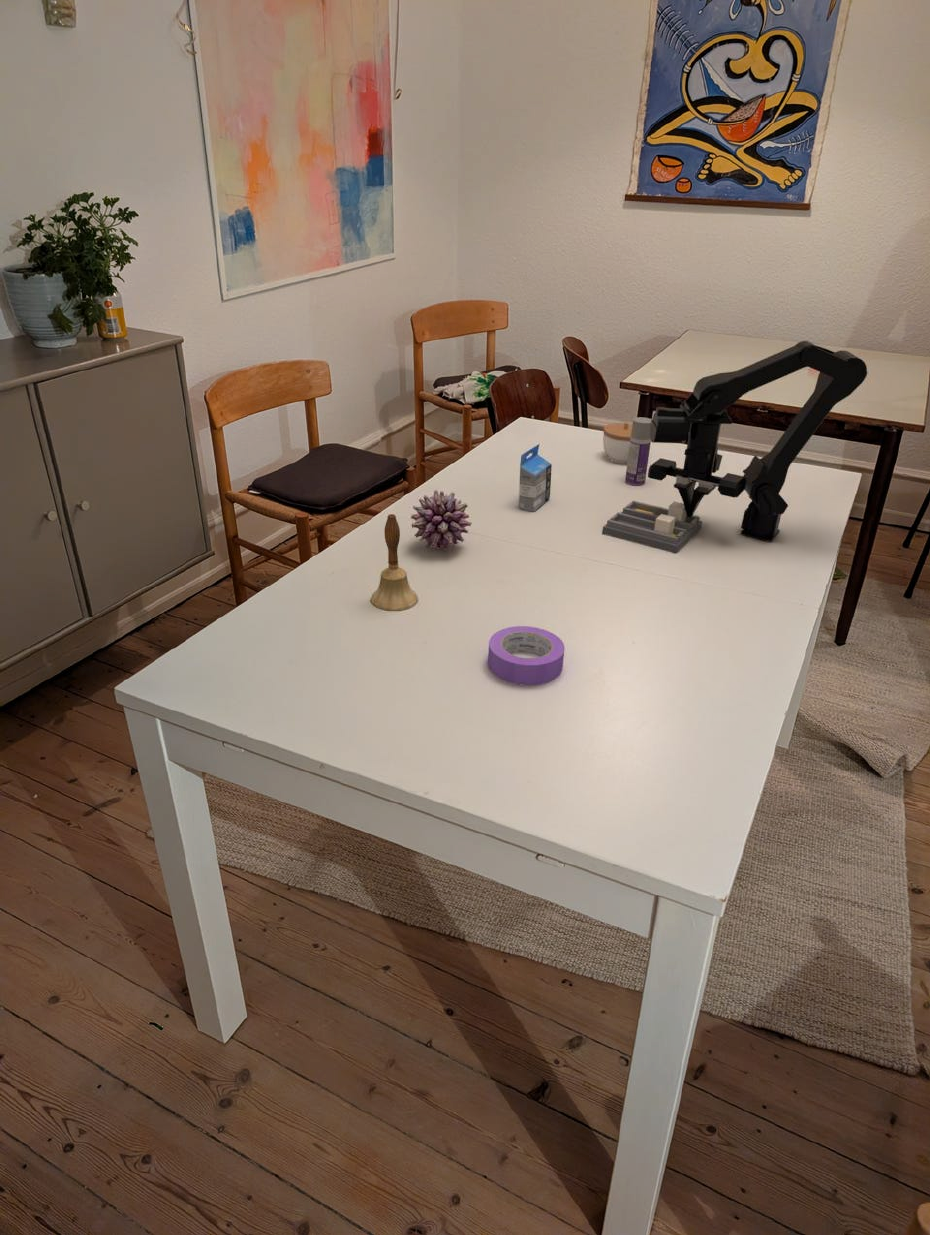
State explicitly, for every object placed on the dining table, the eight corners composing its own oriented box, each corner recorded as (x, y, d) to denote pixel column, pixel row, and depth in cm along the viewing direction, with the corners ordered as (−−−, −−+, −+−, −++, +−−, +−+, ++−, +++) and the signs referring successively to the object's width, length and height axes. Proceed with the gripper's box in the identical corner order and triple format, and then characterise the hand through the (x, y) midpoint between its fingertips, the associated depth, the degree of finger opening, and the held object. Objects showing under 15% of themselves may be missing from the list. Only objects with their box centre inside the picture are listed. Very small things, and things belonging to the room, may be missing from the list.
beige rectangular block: (685, 520, 183) (688, 504, 181) (680, 524, 181) (682, 509, 179) (671, 516, 184) (674, 501, 182) (666, 521, 182) (669, 505, 180)
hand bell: (375, 613, 149) (373, 527, 141) (366, 591, 155) (364, 508, 148) (422, 608, 151) (423, 523, 143) (412, 586, 158) (412, 504, 150)
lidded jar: (592, 455, 222) (596, 419, 217) (627, 450, 226) (632, 414, 221) (615, 469, 213) (620, 431, 209) (651, 463, 218) (657, 427, 213)
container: (644, 479, 208) (652, 417, 200) (645, 486, 204) (654, 423, 196) (624, 478, 208) (632, 416, 201) (625, 485, 204) (633, 422, 197)
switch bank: (701, 528, 184) (703, 516, 182) (676, 553, 173) (678, 540, 171) (630, 510, 191) (632, 498, 190) (602, 533, 180) (603, 521, 179)
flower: (464, 564, 166) (466, 506, 160) (403, 557, 168) (403, 499, 162) (476, 539, 176) (478, 484, 170) (418, 533, 177) (418, 477, 172)
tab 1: (673, 533, 177) (675, 517, 175) (667, 538, 175) (670, 522, 173) (659, 529, 178) (661, 513, 176) (653, 534, 176) (655, 518, 174)
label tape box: (533, 512, 188) (537, 458, 182) (516, 508, 190) (520, 454, 184) (550, 499, 195) (554, 446, 189) (533, 496, 197) (537, 443, 191)
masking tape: (517, 637, 143) (518, 617, 142) (577, 663, 137) (579, 642, 135) (472, 666, 135) (473, 645, 134) (533, 695, 129) (535, 674, 127)
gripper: (760, 442, 174) (745, 514, 182) (671, 424, 183) (661, 494, 190) (744, 457, 166) (729, 532, 174) (652, 438, 174) (641, 510, 182)
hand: (689, 516), depth 180 cm, fingers closed
